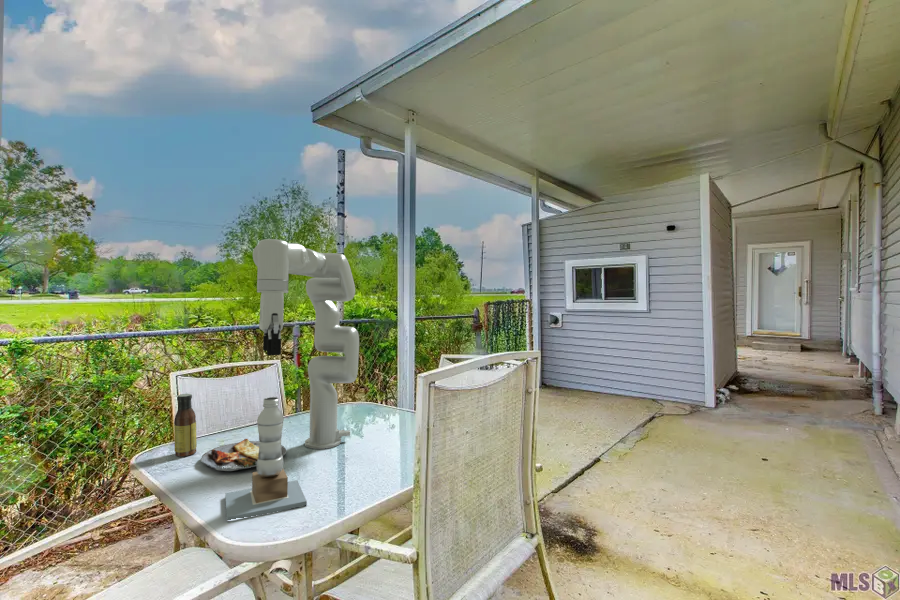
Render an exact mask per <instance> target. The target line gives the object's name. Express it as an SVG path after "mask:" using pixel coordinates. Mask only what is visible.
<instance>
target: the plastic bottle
mask: <svg viewBox="0 0 900 600" xmlns="http://www.w3.org/2000/svg"><path fill="white" fill-rule="evenodd" d="M262 403H263V404H262V407H263V409H262V410H261V412H260V413H259V414H258V417H257V419H256V422H257V429H258V430H257V431H258V432H257V433H258V441H259V455H258V460H257V461H256V465H257V466H255V467H256V472H257V473H258V474H259V476H261V477H272V476H275V475H278V474H279V473H280V472H281V471H282V469H284V455H283V456H282V447H281V445H282V437H283V435H282V434H283V427H284V421H285V417H284V414H283V412H282V411H281V409H280V408H279V406H280V403H279V397H277V396H272V397H271V396H270V397H264V398H263V402H262Z"/></svg>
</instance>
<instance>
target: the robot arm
mask: <svg viewBox="0 0 900 600" xmlns="http://www.w3.org/2000/svg"><path fill="white" fill-rule="evenodd" d="M252 260H253V262H254V264H255V266H256V267H257V274H256V275H257V277H256V278H257V280H256V282H257V283H256V292H257V293H261V294H260V300H259V301H260V302H259V303H260V305H259V325H258V327H259V329H260V330H261V331H262V332H263V336H262V337H263V338H262V340H263V341H262V350H263V351H264V352H266V355H267V356H281V355H282V336H281V335H282V334H281V331H282V330H283V328H284V307H285V305H284V302H285V301H284V297H285V295H284V294H288V293H289V274H290V275H296V276H306V277H311V278H309V279H308V280H307V281H306V283H305V291H306V294H307V297H308V298H309V300H310V302H311V304H312V306H313V309H314V311H315V320H314V323H315V324H314V340H313V341H314V343H313V344H314V348H315V349H316V351H318V352H322V353H343V354H344V356H342V355H339V356H338V355H336V356H335V355H318V356H314V357H313V358H311V359H310V360H309V362H308V365H307V374H308V380H309V389H310V390H309V392H310V393H309V394H310V395H309V396H310V399H309V401H310V402H309V437H308V438H306V439H305V441H304V446H305V447H306V448H309V449H313V450H323V449H325V448H326V449H330V448H335V447H337V446H339V445H340V444H341V443H342V437H350V436H351V431H350V429H349V430H345V429H340V430H339V429H338V402H339V401H338V391H337V390H336V388H335V386H334V384H352V383H355V382H356V380H357V378H358V374H359V373H358V371H359V353H360V334H359V331H358V330H357V329H356V328H355V327H354V326H340V318H341V317H340V316H341V313H340V310H339V308H338V307H337V305H336V304H335V303H334V302H349V301H351V300H353V299H354V297H355V295H356V286H355V282H354V277H353V274H352V269H351V266H350V264H349V260H348V258H347V257H346V255H344V254H343V253H339V252H338V253H337V252H336V253H335V252H334V253H333V252H318V251H316V250H313V249H311V248H306V247H305V246H303V245H302V244H301V243H296V242H287V241H286V240H281V239H277V238H276V239H274V238H266V239H261V240H259V242H258V244H257V245H256V246H255V247H254V248H253V251H252Z"/></svg>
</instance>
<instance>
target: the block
mask: <svg viewBox="0 0 900 600" xmlns="http://www.w3.org/2000/svg"><path fill="white" fill-rule="evenodd" d="M251 474H252V475H251V478H252V479H251V482H252V484H251V488H252V493H253V496H254V499H255V502H256V503H259V502H264V501H269V500H273V499H278V498H283V497H287V491H288V482H289V478H288V474H287V473H286V472H285V469H284V468H283V469H282V471H281V472H280V473H279V474H278V475H275V476H272V477H261V476H259V474H258V473H257V471H254V472H252V473H251Z"/></svg>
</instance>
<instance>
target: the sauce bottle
mask: <svg viewBox="0 0 900 600" xmlns="http://www.w3.org/2000/svg"><path fill="white" fill-rule="evenodd" d="M192 399H193V395H192V393H182V394H178V395H177V401H178V402H177V405H178V406H177V411H176V414H175V416H174V420H173V425H174V426H173V430H174V432H173V433H174V452H175V456H176V457H182V458H184V457H188V456H192V455H194V454H195V453H196V452H197V441H198V440H197V421H196V420H197V418H196V412H195V411H194V408H193V405H192Z"/></svg>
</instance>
